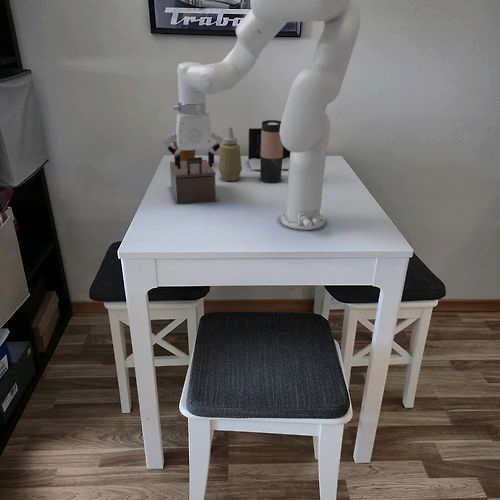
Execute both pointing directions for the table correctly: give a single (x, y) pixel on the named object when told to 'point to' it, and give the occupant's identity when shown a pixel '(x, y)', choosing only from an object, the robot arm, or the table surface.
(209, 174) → the lid
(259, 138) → the laptop
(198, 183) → the box
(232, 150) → the squeeze bottle
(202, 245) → the table surface
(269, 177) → the travel mug
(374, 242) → the table surface
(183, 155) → the disposable coffee cup
